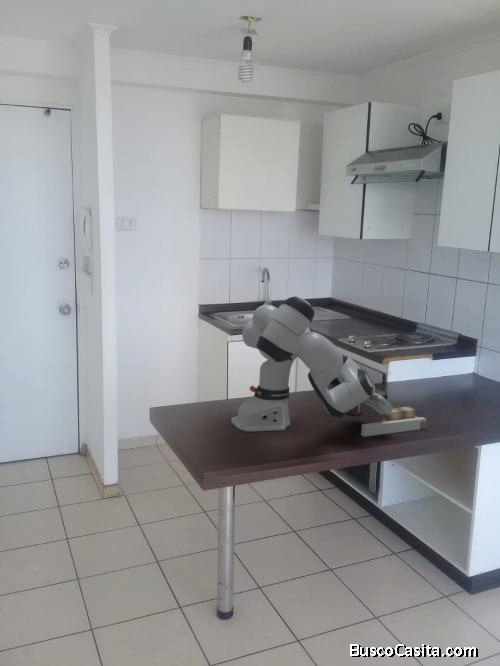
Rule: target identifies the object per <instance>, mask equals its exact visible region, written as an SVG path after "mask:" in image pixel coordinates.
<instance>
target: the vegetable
mask: <svg viewBox="0 0 500 666" xmlns="http://www.w3.org/2000/svg"><path fill="white" fill-rule="evenodd" d="M374 392H375V393H377V394H379V395H381V396H382V397H384V398H385V399H386V400H387V401H388V394H387V393H386V392H385V391H382V390H379V389H377V388H375V390H374Z"/></svg>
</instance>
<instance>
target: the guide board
mask: <svg viewBox="0 0 500 666" xmlns="http://www.w3.org/2000/svg"><path fill="white" fill-rule="evenodd" d="M427 422H428V421H427V418H425V417H424V416H422V417H420V416H417V415H415V418H411V419H403V420H394V421H386V422H382V421H380V422H371V423H370V422H369V423H363V424H361V431H360V432H361V433H360V435H361V436H362V437H365V438H366V437H373V436H379V435H380V436H381V435H387V434H394V433H402V432H411V431H417V430H425V429H427Z"/></svg>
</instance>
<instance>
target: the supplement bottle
mask: <svg viewBox="0 0 500 666" xmlns="http://www.w3.org/2000/svg"><path fill="white" fill-rule="evenodd" d="M361 410H362V403H360V404H359V405H357V406H356V407H354V408H353V409H351V410H350V411H348V412H347V413H346V414H347V415H349V416H359V415H361V412H362V411H361Z"/></svg>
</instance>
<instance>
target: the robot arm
mask: <svg viewBox="0 0 500 666" xmlns="http://www.w3.org/2000/svg"><path fill="white" fill-rule="evenodd" d="M314 317H315V310H314V308H313V306H311V304H310V302H308V301H307V300H306V299H304V298H301V297H299V296H290V297H288V298H287V299H285V300H282V301H280V305H279V307H276V306H274V305H272V304H262V305H260V306H258V307H257V308H256V309H255V310H254V312H253V314H252V320H249V321H247V322H246V323H245V325H244V326H243V329H242V331H241V335H242V340H243V342H244V344H245V346H247V347H250V348H251V349H252V348H253V349H257V350H258V351H259V353H260V355H261V356H262V357H263V358H265V359H266V360H265V361H264V362H263V363H262V364H261V365H260V366H259V367H260V368H259V380H258V381H259V382H258V385H257V387H256V386H254V385H250V387H249V391H250V392H252V393H253V394H254V395H252V396H251V397H250V398H248V399H247V400H246V401H245V402H243V403H242V404H240V406H239V407H238V410H237V414H236V415H237V416H233V417H231V421H230V422H231V424H232V425H233V426H234V428H237V429H238V430H239V431H243V432H264V431H265V432H268V431H269V432H273V431H284V430H286V428H288V427H289V426H290V425H291V419H290V412H289V399H290V386H289V384H290V376H291V375H290V374H291V368H292V366H293V365H294V364H293V363H294V361H295V360H296V359H297V358H299V360H300V361H301V362H302V363H304V365H305V366H306V368H308V369H309V372H308V374H307V379H308V380H309V383H310V385H311V387H312V389H313V390H314V392H315V393H316V394H317V397H318V398H319V400H320V401H321V402H322V404H323V407H324V409H325V411H326V412H327V413H328V414H329V415H330V416H331V417H335V418H342V417H344V416H345V415H346V414H347V412H348V411H350V410H351V409H353V408H354V407H356V406H357V405H359V404H360V403H361V404H365V405H366V406H368V407H370V408H372V409H373V410H375V411H376V412H377V413H378V414H381V415H383V414H385V415H389V414H390V413H391V411H392V410H393V408H394V407H393V406H392V404H391V403H390V402H389V401H388V399H387V400H386V399H385V398H384V397H382V396H381V395H379V394H377V393H375V392H374V390H375V389H376V387H375V386H376V385H375V384H374V382H373V380H372V379H371V378H370V376H369V375H368V373H367V372H366V371H364V369H362V368H361V367H360V366H359V365H358V364H357V362H355V361H354V359H352V358H351V357H350V356H348V355H344V356H343V355H342V352H341V351H340V350H339V349H338V347H337V346H336V345H335V344H334V343H333V341H331V340H329V339H328V338H327V337H325V336H324V335H322V334H320V333H318V332H315V331H311V329H310V328H309V325H310V323H312V321H313V320H314ZM336 378H337V380H338V381H339V382H340V383H339V384H338V385H336V386H334V387H333V388H331V389H328V386H329V385H330V384H331V383H332V381H333V380H335V379H336Z"/></svg>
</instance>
